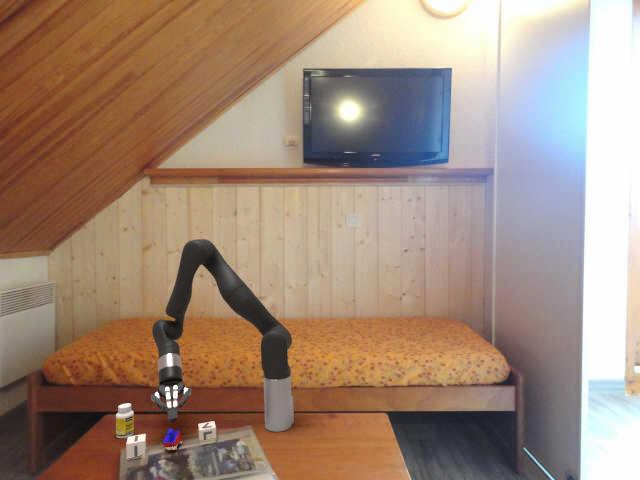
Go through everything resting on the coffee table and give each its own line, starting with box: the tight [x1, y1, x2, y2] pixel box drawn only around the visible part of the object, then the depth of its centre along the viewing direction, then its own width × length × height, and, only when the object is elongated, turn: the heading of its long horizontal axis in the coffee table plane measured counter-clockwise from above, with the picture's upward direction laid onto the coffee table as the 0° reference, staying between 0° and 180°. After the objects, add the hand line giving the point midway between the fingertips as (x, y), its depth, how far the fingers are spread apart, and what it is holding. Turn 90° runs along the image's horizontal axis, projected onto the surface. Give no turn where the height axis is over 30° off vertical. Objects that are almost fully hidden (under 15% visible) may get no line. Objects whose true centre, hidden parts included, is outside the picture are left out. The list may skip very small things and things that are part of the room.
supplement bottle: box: [115, 402, 135, 439], centre depth 133 cm, size 5×5×10 cm
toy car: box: [162, 428, 183, 448], centre depth 123 cm, size 4×4×8 cm
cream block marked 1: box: [125, 433, 147, 460], centre depth 120 cm, size 5×5×5 cm
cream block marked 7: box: [197, 420, 217, 441], centre depth 128 cm, size 5×5×5 cm
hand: (173, 421), depth 124 cm, fingers closed
